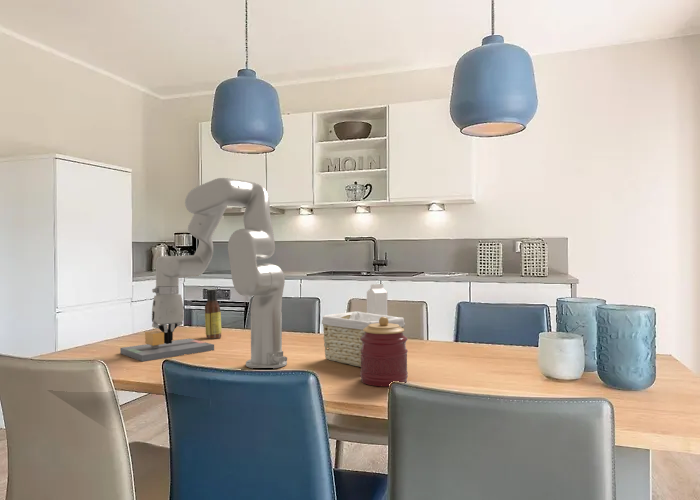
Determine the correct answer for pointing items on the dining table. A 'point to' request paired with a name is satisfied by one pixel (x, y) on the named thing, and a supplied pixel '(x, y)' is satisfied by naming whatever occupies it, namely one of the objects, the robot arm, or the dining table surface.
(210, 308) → the sauce bottle
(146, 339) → the switch knob
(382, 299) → the milk
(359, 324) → the storage basket
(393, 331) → the canister
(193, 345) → the switch board
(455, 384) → the dining table surface
